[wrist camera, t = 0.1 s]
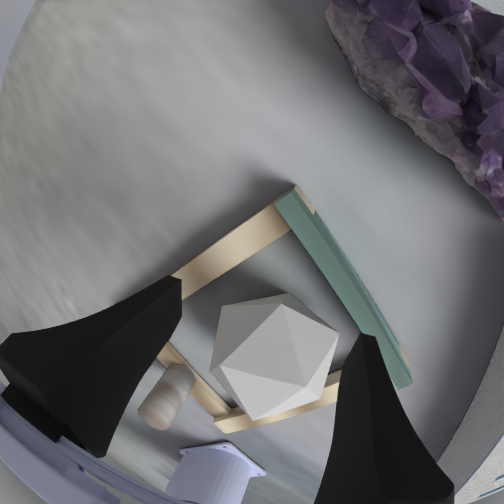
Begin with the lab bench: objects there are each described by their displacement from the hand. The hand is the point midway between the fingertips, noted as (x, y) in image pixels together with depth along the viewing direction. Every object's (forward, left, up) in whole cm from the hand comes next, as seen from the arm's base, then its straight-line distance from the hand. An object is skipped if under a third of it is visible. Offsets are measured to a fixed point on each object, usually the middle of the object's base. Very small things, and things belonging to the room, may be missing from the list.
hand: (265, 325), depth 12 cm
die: (-5, -5, -11) cm, 13 cm away
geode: (+15, +2, -11) cm, 19 cm away
